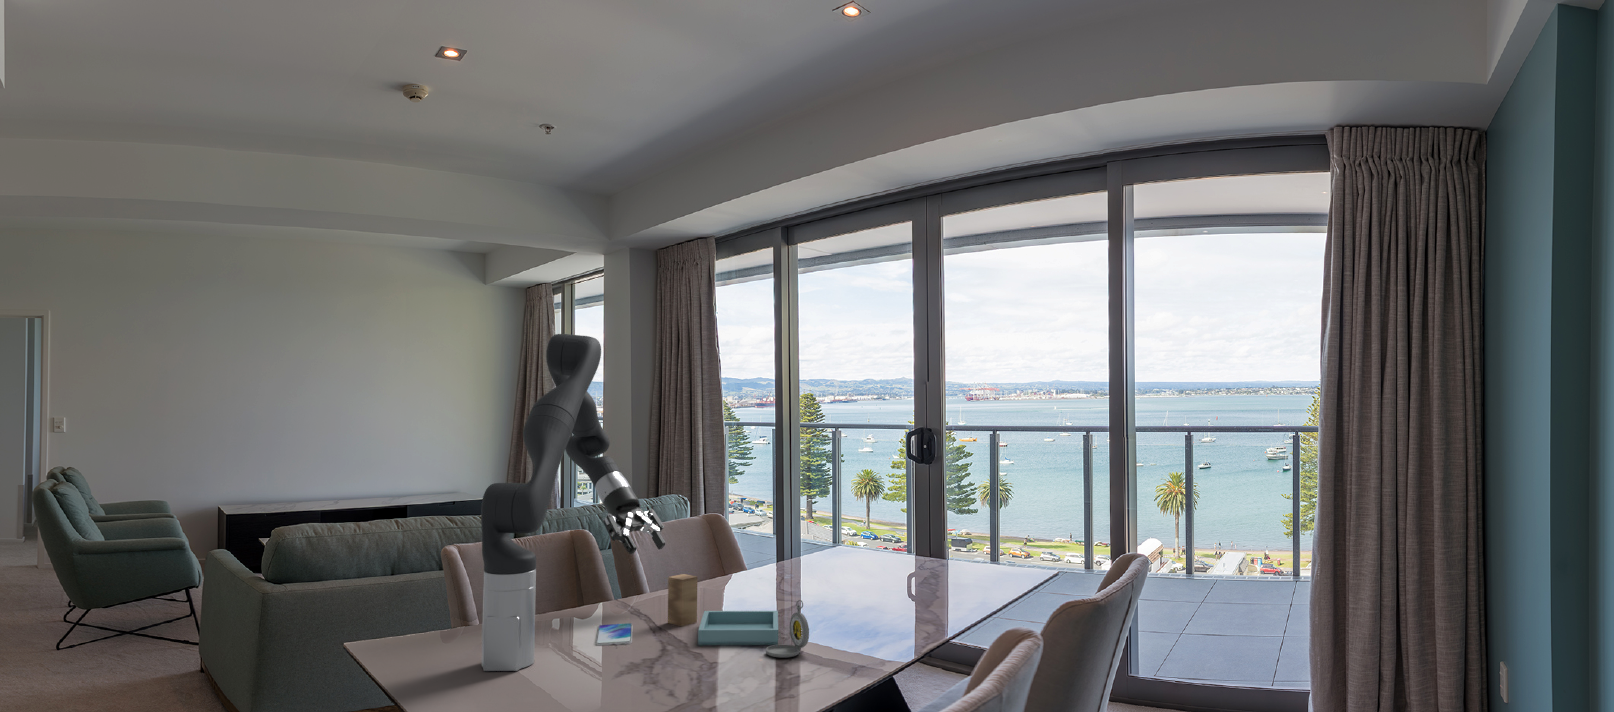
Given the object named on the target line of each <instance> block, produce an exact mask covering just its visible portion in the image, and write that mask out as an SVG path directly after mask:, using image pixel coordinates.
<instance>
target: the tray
mask: <svg viewBox="0 0 1614 712" xmlns="http://www.w3.org/2000/svg"><path fill="white" fill-rule="evenodd" d="M697 636H698V637H697V646H773V645H779V610H704V611H703V614H702V618H701V621H700V623H699V627H698V631H697Z"/></svg>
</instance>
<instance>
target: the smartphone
mask: <svg viewBox="0 0 1614 712" xmlns="http://www.w3.org/2000/svg"><path fill="white" fill-rule="evenodd" d="M632 643H633V624H632V623H631V622H630V623H629V622H628V623H627V622H626V623H611V624H599V625H598V627H597V632H596V638H595V646H598V647H599V646H600V647H601V646H602V647H604V646H613V645H615V646H622V645H624V646H626V645H631V644H632Z"/></svg>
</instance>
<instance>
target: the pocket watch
mask: <svg viewBox="0 0 1614 712" xmlns="http://www.w3.org/2000/svg"><path fill="white" fill-rule="evenodd" d="M799 602H800V603H801V604H798V603H799ZM795 605H796V610H797V612H794V613H793V614H792V615H791V616H790V617H791V618H790V621H789V635H790V637H791V638H790V639H791V641H792V643H793V645H792V644H778V645H768V646H767V647H766V648H765V653H766V654H767V655H768V656H770V657H773V658H774V657H775V658H779V659H780V658H792V657H796V656H797V655H799V654H800V652H801V649H802V648H804V647H806V646H807V644H808V642H809V638H810V628H809V623H808V620H807V618H806V616H805V615H804V614H803V613H802V612H801V610H802V609H803V607H804V602H803V600H801V599H798V600H797V601H796V604H795Z"/></svg>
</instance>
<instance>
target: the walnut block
mask: <svg viewBox="0 0 1614 712" xmlns="http://www.w3.org/2000/svg"><path fill="white" fill-rule="evenodd" d="M667 579H668V580H667V582H668V583H667V623H668V624H671V625H675V626H678V627H685V626H688V625H692V624H697V623H698V576H696V575H690V574H686V573H681V574H677V575H672V576H671V575H670V576H668V577H667Z"/></svg>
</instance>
